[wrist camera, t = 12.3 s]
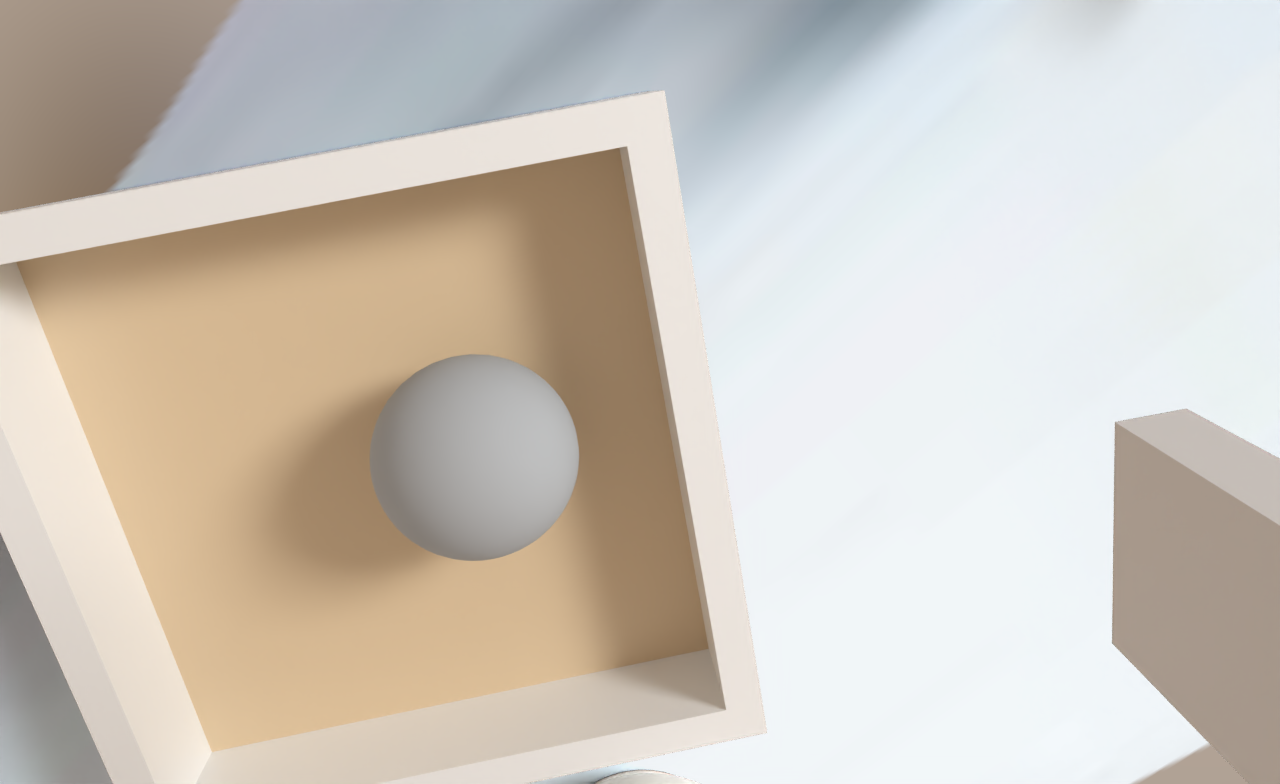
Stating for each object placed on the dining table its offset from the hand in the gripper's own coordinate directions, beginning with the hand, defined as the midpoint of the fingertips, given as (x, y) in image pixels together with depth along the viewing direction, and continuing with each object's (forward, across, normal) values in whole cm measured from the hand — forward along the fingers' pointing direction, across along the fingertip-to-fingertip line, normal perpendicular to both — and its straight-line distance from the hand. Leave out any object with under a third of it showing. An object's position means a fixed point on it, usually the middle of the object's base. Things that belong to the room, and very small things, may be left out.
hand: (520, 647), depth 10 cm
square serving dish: (+20, -6, -6) cm, 22 cm away
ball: (+18, -5, -6) cm, 20 cm away
